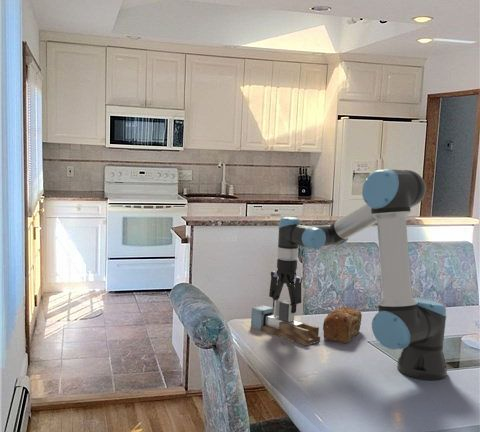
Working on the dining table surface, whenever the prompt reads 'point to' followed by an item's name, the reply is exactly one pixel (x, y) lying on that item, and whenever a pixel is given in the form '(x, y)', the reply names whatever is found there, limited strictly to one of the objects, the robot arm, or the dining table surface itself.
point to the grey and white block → (280, 317)
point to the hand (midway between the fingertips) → (283, 318)
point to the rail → (295, 332)
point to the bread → (342, 324)
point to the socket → (260, 315)
